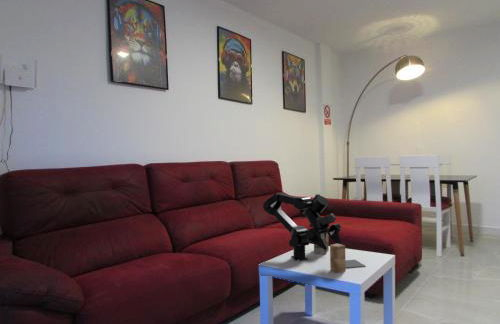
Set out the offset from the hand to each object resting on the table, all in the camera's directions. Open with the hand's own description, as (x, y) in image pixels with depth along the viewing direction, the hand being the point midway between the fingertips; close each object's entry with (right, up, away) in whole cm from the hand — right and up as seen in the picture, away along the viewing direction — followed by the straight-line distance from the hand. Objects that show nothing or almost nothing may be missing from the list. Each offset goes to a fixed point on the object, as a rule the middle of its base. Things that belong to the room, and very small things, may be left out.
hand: (333, 247), depth 156 cm
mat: (+9, -9, +7) cm, 15 cm away
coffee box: (+1, -9, +30) cm, 31 cm away
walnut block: (+1, -10, -2) cm, 10 cm away
